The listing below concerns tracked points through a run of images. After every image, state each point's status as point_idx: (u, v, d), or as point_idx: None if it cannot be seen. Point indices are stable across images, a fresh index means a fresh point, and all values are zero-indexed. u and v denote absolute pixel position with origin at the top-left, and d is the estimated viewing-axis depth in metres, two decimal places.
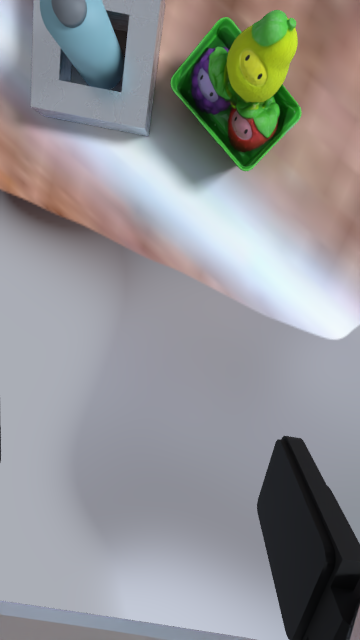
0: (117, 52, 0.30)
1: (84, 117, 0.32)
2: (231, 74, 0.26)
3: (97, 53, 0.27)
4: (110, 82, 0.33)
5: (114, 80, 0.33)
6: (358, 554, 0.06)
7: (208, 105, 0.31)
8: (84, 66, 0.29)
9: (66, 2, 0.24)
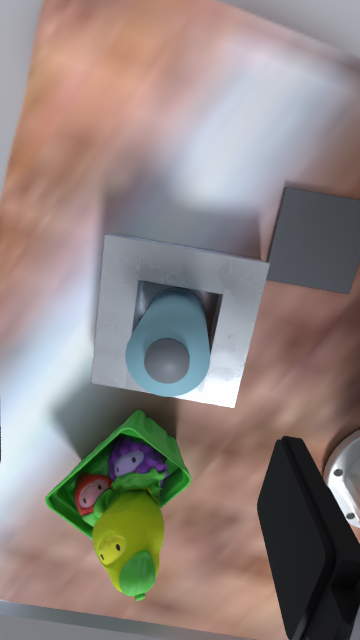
0: None
1: None
2: (111, 520, 0.23)
3: None
4: None
5: None
6: (358, 554, 0.06)
7: (112, 459, 0.26)
8: None
9: (167, 361, 0.18)
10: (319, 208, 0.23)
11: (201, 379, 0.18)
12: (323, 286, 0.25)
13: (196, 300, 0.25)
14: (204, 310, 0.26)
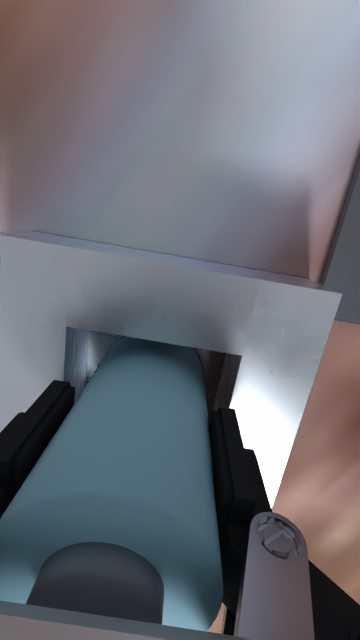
0: None
1: None
2: None
3: None
4: None
5: None
6: (251, 495, 0.07)
7: None
8: None
9: None
10: None
11: None
12: None
13: (187, 358, 0.13)
14: (202, 370, 0.14)
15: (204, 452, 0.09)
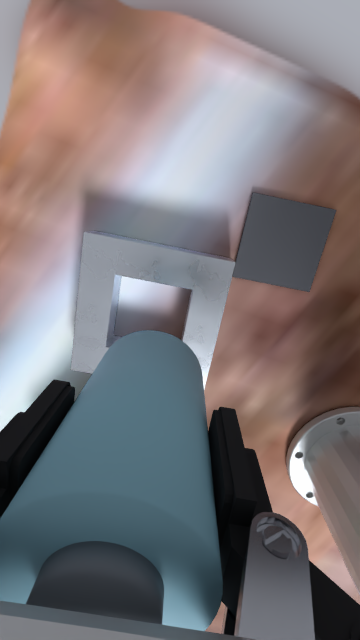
0: None
1: None
2: None
3: None
4: None
5: None
6: (252, 495, 0.07)
7: None
8: None
9: None
10: (283, 212, 0.25)
11: None
12: (286, 284, 0.27)
13: (186, 358, 0.13)
14: (201, 369, 0.14)
15: (203, 451, 0.09)
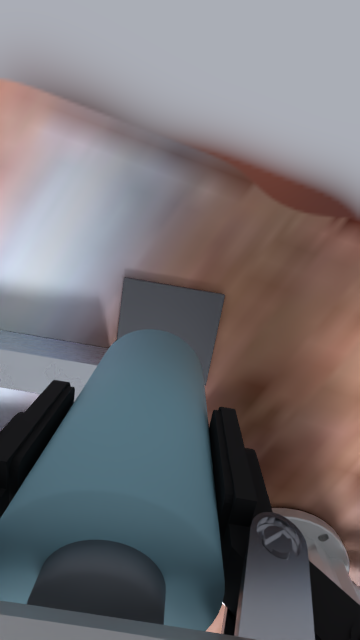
0: None
1: None
2: None
3: None
4: None
5: None
6: (252, 495, 0.07)
7: None
8: None
9: None
10: (162, 299, 0.21)
11: None
12: None
13: (186, 357, 0.13)
14: (201, 368, 0.14)
15: (204, 450, 0.09)
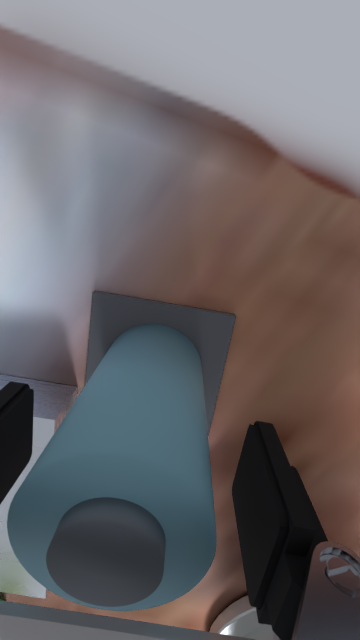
0: None
1: None
2: None
3: None
4: None
5: None
6: (309, 523, 0.07)
7: None
8: None
9: (105, 561, 0.07)
10: (147, 322, 0.15)
11: (194, 581, 0.08)
12: None
13: (186, 349, 0.14)
14: (200, 361, 0.15)
15: (201, 429, 0.10)
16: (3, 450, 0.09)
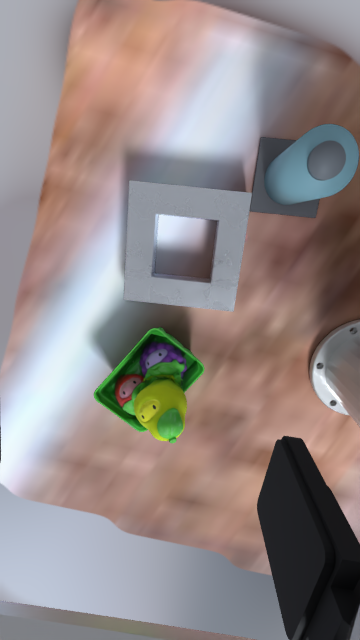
0: (293, 202, 0.29)
1: (127, 238, 0.32)
2: (147, 391, 0.31)
3: (287, 187, 0.26)
4: (270, 191, 0.31)
5: (271, 195, 0.31)
6: (358, 554, 0.06)
7: (143, 358, 0.34)
8: (278, 168, 0.27)
9: (328, 158, 0.23)
10: None
11: (350, 178, 0.23)
12: (295, 213, 0.33)
13: None
14: None
15: None
16: None
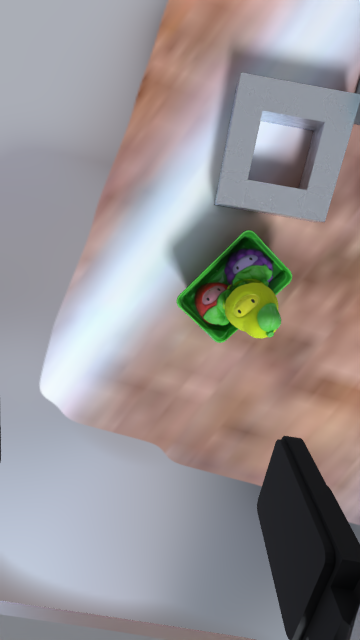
0: None
1: (228, 137, 0.32)
2: (244, 287, 0.31)
3: None
4: None
5: None
6: (358, 554, 0.06)
7: (230, 264, 0.34)
8: None
9: None
10: None
11: None
12: None
13: None
14: None
15: None
16: None
